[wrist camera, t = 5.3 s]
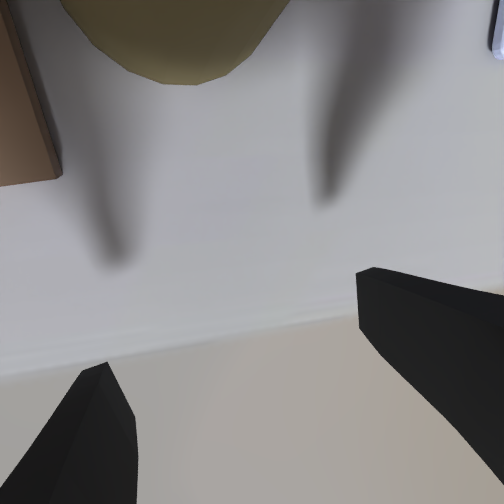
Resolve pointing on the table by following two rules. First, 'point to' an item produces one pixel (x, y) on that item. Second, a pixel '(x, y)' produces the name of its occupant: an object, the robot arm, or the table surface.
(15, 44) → the light brown board
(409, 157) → the table surface
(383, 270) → the robot arm
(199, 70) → the cork
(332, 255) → the table surface
